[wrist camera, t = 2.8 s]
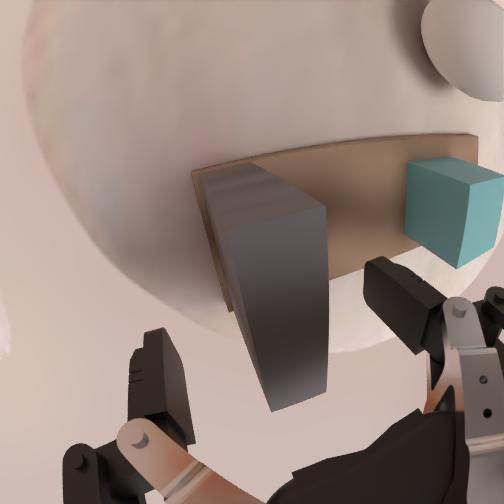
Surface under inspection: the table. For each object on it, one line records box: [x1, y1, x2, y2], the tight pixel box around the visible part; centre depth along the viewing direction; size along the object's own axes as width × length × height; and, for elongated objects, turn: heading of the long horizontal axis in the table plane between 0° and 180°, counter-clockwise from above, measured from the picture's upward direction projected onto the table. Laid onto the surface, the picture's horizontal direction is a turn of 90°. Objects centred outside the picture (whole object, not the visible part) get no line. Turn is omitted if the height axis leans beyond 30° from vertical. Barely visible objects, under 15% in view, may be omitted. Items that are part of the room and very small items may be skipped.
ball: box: [421, 0, 504, 102], centre depth 9 cm, size 8×8×8 cm
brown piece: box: [191, 134, 478, 412], centre depth 13 cm, size 8×22×8 cm, turn 100°
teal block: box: [404, 157, 504, 269], centre depth 14 cm, size 5×5×5 cm
